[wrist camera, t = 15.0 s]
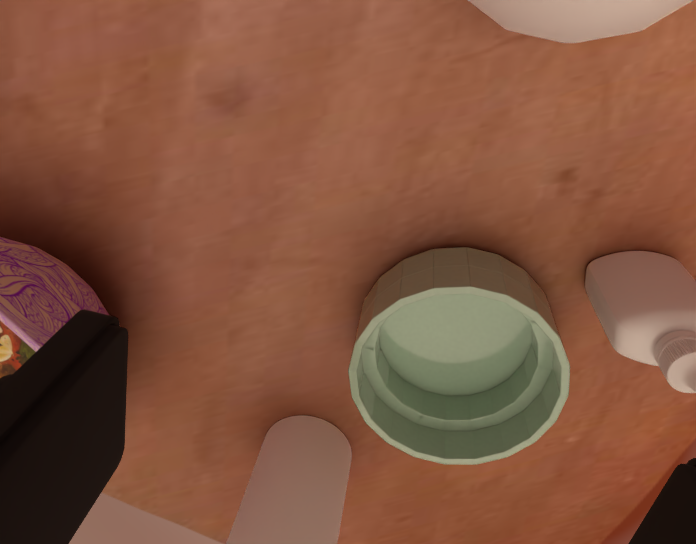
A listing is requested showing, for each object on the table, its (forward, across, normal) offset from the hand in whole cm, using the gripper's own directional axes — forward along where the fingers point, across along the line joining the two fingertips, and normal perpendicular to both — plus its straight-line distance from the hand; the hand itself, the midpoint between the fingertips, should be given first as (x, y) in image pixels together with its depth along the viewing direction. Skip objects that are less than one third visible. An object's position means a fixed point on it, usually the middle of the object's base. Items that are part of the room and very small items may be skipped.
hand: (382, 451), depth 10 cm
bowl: (+28, -6, +14) cm, 32 cm away
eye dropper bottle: (+28, -15, +7) cm, 33 cm away
